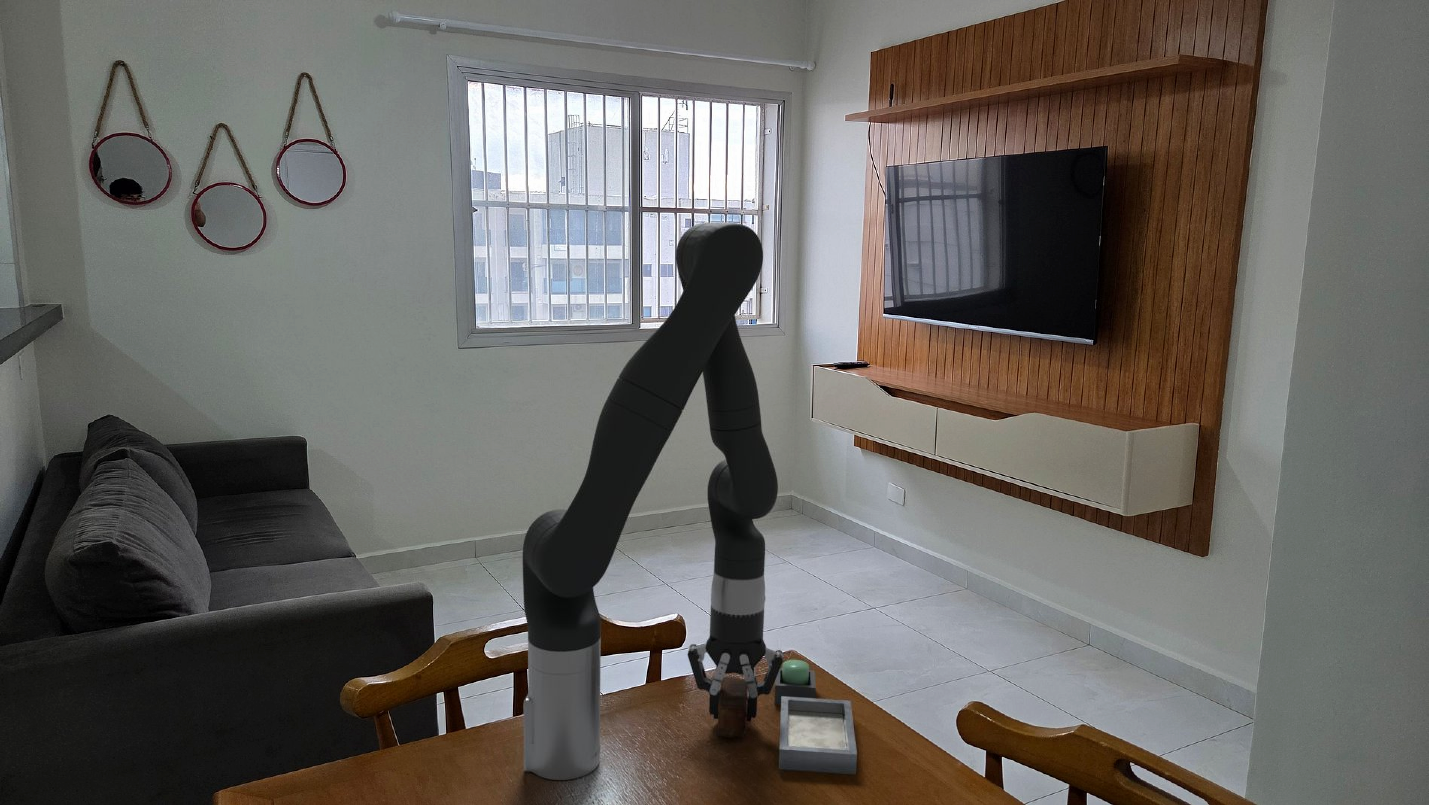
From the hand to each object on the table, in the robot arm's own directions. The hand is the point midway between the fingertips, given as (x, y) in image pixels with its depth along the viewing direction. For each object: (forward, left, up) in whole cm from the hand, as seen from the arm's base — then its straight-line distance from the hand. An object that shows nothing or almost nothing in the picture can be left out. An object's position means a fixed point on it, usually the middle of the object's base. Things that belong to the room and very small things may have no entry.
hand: (732, 717), depth 134 cm
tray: (+12, -3, -1) cm, 12 cm away
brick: (0, 0, -1) cm, 1 cm away
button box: (+9, +10, -1) cm, 13 cm away
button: (+9, +10, +1) cm, 13 cm away
